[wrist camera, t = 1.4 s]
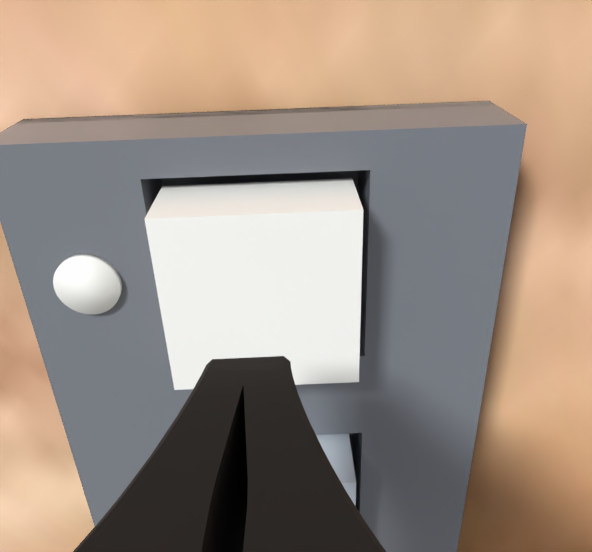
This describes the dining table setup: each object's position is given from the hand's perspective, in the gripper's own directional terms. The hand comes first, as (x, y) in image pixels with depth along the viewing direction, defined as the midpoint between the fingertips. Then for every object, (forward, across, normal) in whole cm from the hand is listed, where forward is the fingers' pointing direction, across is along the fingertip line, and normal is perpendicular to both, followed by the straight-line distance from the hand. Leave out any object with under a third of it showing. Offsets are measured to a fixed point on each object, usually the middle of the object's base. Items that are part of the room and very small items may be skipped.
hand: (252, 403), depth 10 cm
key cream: (+5, 0, 0) cm, 5 cm away
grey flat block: (+7, 0, +8) cm, 11 cm away
